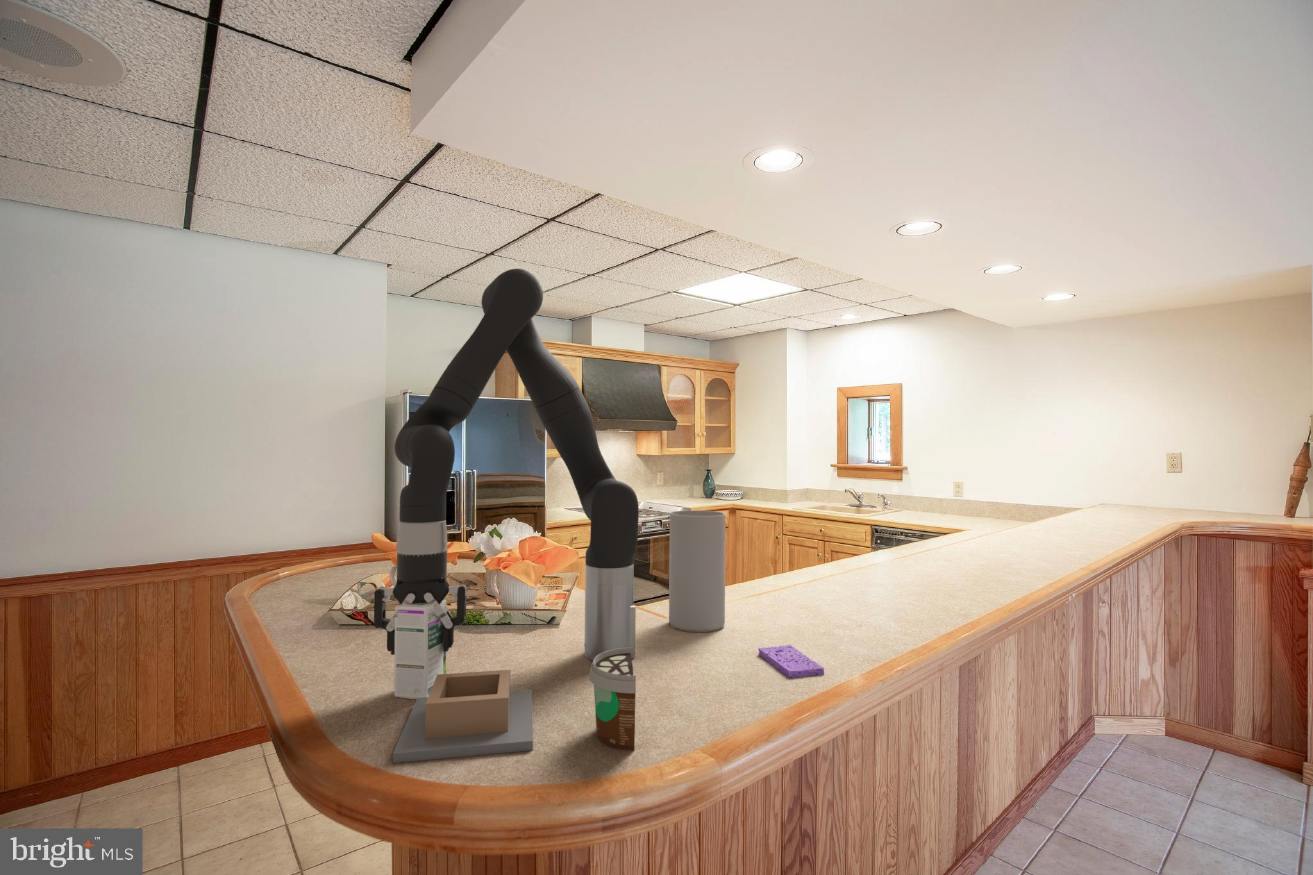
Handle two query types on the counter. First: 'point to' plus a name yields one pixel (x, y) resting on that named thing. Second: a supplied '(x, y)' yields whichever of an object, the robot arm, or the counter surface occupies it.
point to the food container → (614, 698)
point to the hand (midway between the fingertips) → (420, 651)
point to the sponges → (791, 661)
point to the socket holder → (467, 718)
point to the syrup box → (418, 649)
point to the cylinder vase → (697, 570)
